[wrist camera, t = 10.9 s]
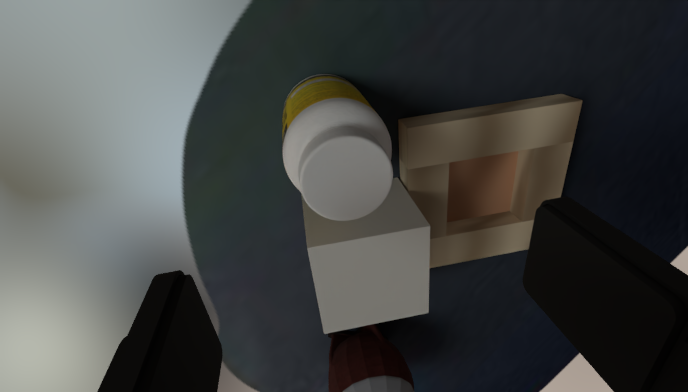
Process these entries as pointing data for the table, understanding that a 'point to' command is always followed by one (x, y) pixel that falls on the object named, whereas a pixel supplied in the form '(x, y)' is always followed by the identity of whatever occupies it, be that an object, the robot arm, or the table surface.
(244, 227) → the table surface
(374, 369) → the mate gourd
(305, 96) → the supplement bottle
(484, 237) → the socket board
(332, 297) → the light gray cube
